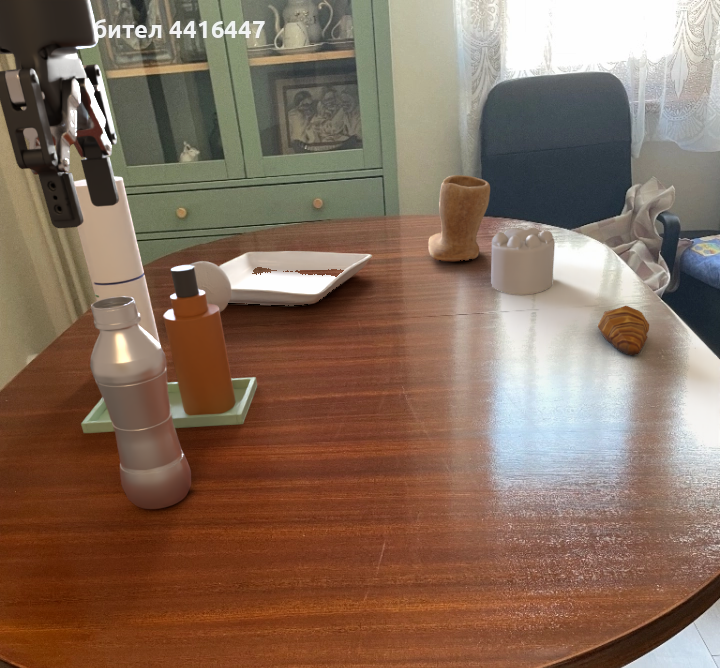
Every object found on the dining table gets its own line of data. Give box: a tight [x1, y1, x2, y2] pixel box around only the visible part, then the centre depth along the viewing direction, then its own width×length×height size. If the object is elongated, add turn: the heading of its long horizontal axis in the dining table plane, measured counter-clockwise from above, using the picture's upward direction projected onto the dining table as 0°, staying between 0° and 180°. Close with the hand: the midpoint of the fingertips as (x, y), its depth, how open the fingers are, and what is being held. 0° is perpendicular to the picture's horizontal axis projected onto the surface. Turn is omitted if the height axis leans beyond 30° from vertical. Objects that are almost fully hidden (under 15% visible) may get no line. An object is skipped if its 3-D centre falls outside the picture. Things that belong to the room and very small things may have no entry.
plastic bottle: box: [89, 296, 192, 510], centre depth 67 cm, size 6×7×20 cm
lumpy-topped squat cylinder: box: [490, 227, 556, 296], centre depth 124 cm, size 10×13×9 cm
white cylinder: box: [189, 260, 231, 313], centre depth 98 cm, size 7×7×15 cm
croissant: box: [597, 305, 650, 356], centre depth 98 cm, size 14×7×5 cm, turn 174°
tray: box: [80, 376, 258, 434], centre depth 90 cm, size 19×11×2 cm, turn 88°
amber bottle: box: [162, 264, 236, 415], centre depth 86 cm, size 6×6×17 cm
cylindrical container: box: [74, 176, 161, 345], centre depth 100 cm, size 7×7×25 cm
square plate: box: [219, 250, 373, 307], centre depth 134 cm, size 27×27×4 cm
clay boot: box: [427, 174, 491, 262], centre depth 142 cm, size 15×12×15 cm
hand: (88, 215), depth 58 cm, fingers open, 8 cm apart
